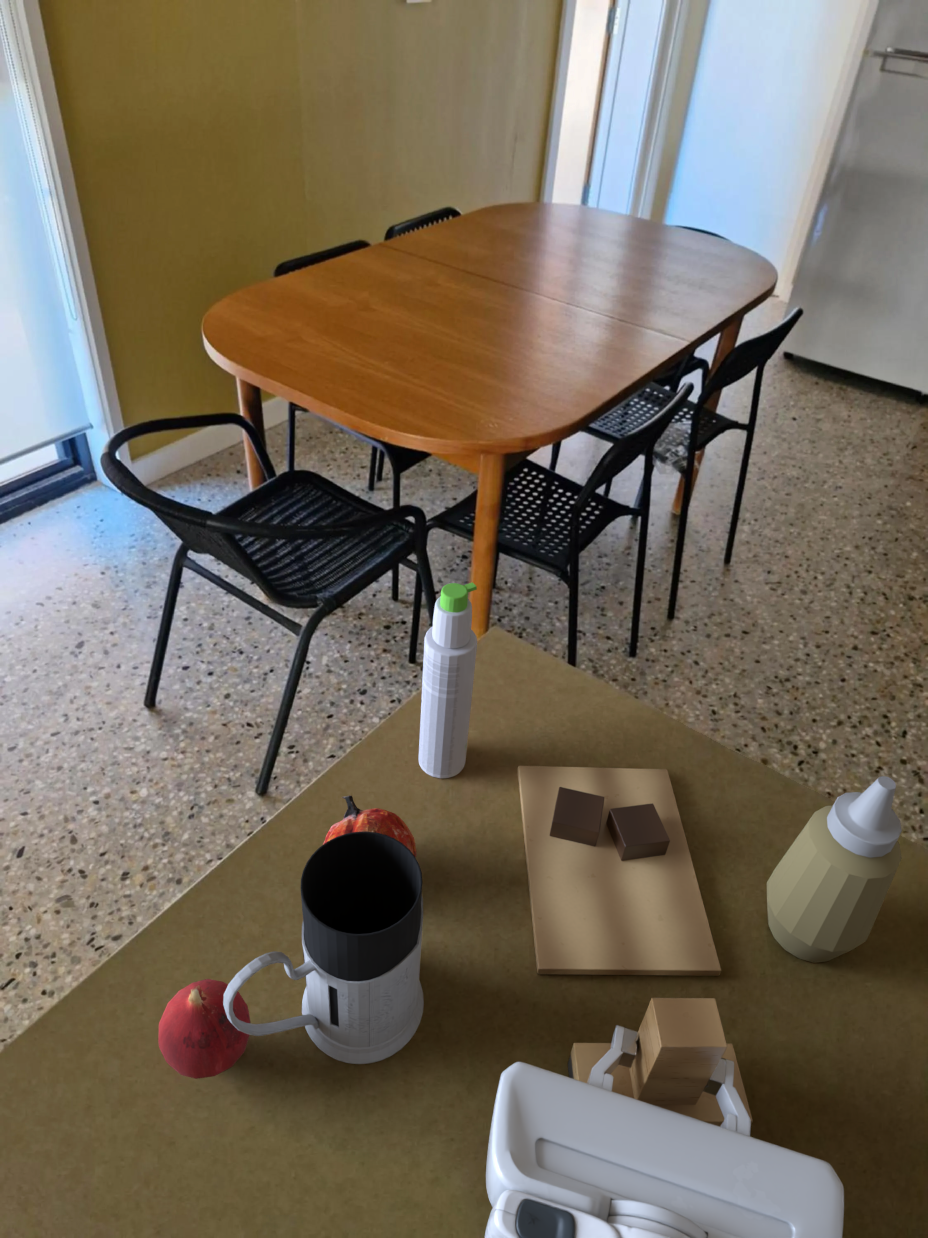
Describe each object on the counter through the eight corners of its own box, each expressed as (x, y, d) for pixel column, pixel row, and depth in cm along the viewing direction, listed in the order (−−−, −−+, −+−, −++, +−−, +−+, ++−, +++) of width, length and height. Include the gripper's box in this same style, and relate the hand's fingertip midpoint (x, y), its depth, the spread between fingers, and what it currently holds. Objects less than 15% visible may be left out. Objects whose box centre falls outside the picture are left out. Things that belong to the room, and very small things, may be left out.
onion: (272, 1041, 62) (263, 982, 57) (214, 1116, 58) (199, 1060, 53) (209, 998, 64) (195, 937, 59) (148, 1068, 60) (128, 1008, 55)
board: (665, 774, 83) (667, 769, 83) (719, 976, 68) (721, 971, 67) (517, 771, 82) (518, 765, 82) (537, 974, 67) (538, 969, 66)
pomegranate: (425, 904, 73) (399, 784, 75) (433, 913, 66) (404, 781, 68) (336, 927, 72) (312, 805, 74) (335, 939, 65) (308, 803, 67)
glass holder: (448, 1010, 64) (461, 890, 55) (278, 1149, 56) (260, 1036, 47) (375, 925, 69) (376, 801, 60) (210, 1042, 61) (180, 921, 52)
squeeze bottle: (733, 923, 71) (802, 775, 60) (788, 869, 76) (862, 722, 64) (822, 998, 67) (915, 853, 55) (875, 936, 71) (971, 790, 60)
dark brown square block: (648, 817, 78) (653, 803, 77) (665, 855, 75) (670, 840, 74) (605, 823, 77) (609, 808, 76) (621, 861, 74) (625, 846, 73)
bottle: (470, 775, 81) (488, 604, 69) (423, 782, 80) (433, 610, 68) (459, 741, 85) (474, 571, 72) (414, 746, 84) (422, 576, 71)
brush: (721, 1063, 63) (765, 983, 56) (740, 1140, 59) (790, 1064, 52) (567, 1063, 62) (592, 981, 55) (576, 1141, 58) (605, 1064, 51)
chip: (600, 811, 78) (604, 796, 77) (595, 847, 75) (599, 832, 74) (556, 801, 79) (559, 786, 78) (549, 836, 76) (552, 821, 74)
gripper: (870, 1357, 43) (855, 1076, 53) (465, 1210, 46) (525, 974, 57) (828, 1387, 47) (822, 1120, 57) (457, 1249, 50) (515, 1022, 61)
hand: (671, 1046), depth 57 cm, fingers closed on brush, 5 cm apart
